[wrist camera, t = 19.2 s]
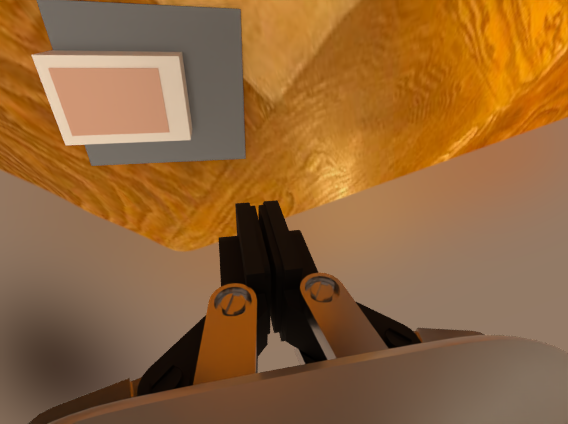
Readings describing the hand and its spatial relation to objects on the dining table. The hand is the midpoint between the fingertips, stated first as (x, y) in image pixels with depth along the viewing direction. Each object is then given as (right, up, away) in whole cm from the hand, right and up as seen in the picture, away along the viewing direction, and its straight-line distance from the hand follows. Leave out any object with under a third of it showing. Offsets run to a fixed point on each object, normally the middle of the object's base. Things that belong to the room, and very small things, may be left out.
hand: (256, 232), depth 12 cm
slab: (-9, +13, +19) cm, 25 cm away
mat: (-12, +14, +21) cm, 28 cm away
